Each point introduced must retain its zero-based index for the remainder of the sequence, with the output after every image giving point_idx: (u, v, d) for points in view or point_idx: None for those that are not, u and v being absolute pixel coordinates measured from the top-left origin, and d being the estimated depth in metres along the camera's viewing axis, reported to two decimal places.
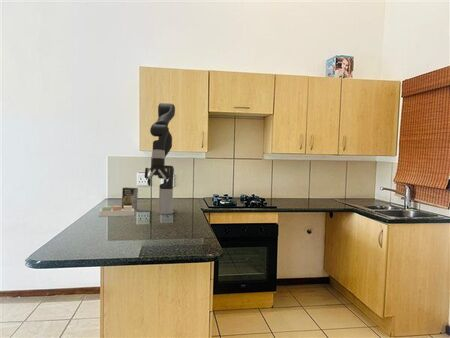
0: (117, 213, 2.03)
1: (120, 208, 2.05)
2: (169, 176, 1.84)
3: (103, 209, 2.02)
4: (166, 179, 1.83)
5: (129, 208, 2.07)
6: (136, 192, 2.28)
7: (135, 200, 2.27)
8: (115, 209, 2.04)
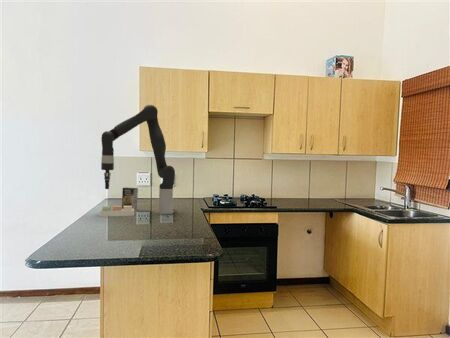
0: (117, 213, 2.03)
1: (120, 208, 2.05)
2: (108, 180, 1.99)
3: (103, 209, 2.02)
4: (105, 183, 2.00)
5: (129, 208, 2.07)
6: (136, 192, 2.28)
7: (135, 200, 2.27)
8: (115, 209, 2.04)
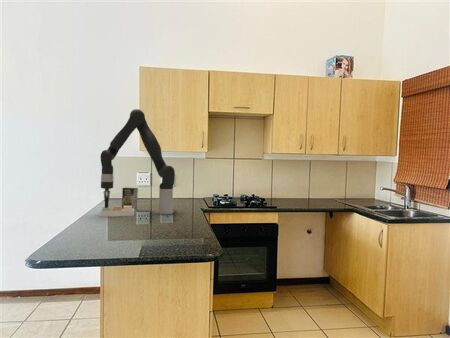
0: (117, 213, 2.03)
1: (120, 208, 2.05)
2: (107, 200, 2.02)
3: (103, 210, 2.02)
4: (105, 202, 2.03)
5: (129, 208, 2.07)
6: (136, 192, 2.28)
7: (135, 200, 2.27)
8: (115, 209, 2.04)
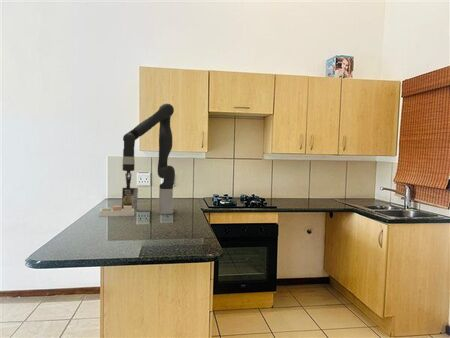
0: (117, 213, 2.03)
1: (120, 208, 2.05)
2: (129, 182, 2.06)
3: None
4: (127, 184, 2.07)
5: (129, 208, 2.07)
6: (136, 192, 2.28)
7: (135, 200, 2.27)
8: (115, 209, 2.04)
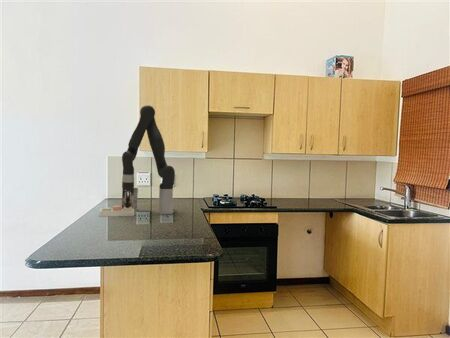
0: (117, 213, 2.03)
1: (120, 208, 2.05)
2: (129, 200, 2.06)
3: None
4: (126, 202, 2.07)
5: (129, 209, 2.07)
6: (136, 192, 2.28)
7: (135, 200, 2.27)
8: (115, 209, 2.04)
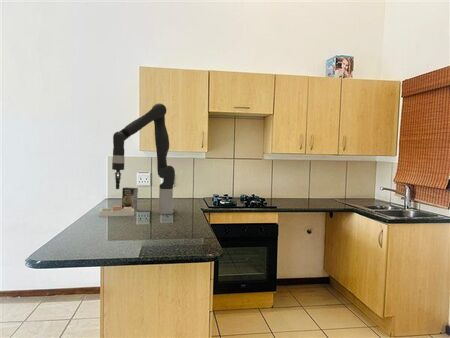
0: (117, 213, 2.03)
1: (120, 208, 2.05)
2: (119, 181, 2.03)
3: None
4: (116, 183, 2.05)
5: (129, 209, 2.07)
6: (136, 192, 2.28)
7: (135, 200, 2.27)
8: (115, 209, 2.04)
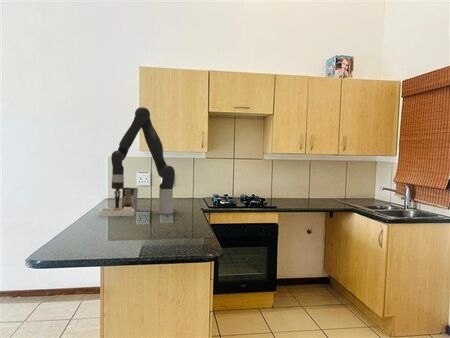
0: (117, 213, 2.03)
1: (120, 209, 2.05)
2: (118, 200, 2.04)
3: None
4: (116, 202, 2.05)
5: (129, 209, 2.07)
6: (136, 192, 2.28)
7: (135, 200, 2.27)
8: (115, 210, 2.04)
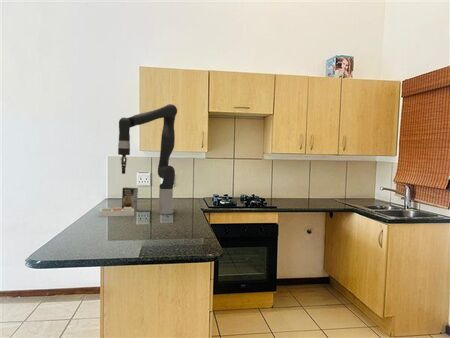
0: (117, 213, 2.03)
1: (120, 209, 2.05)
2: (125, 166, 2.09)
3: None
4: (122, 168, 2.10)
5: (129, 209, 2.07)
6: (136, 192, 2.28)
7: (135, 200, 2.27)
8: (115, 210, 2.04)
